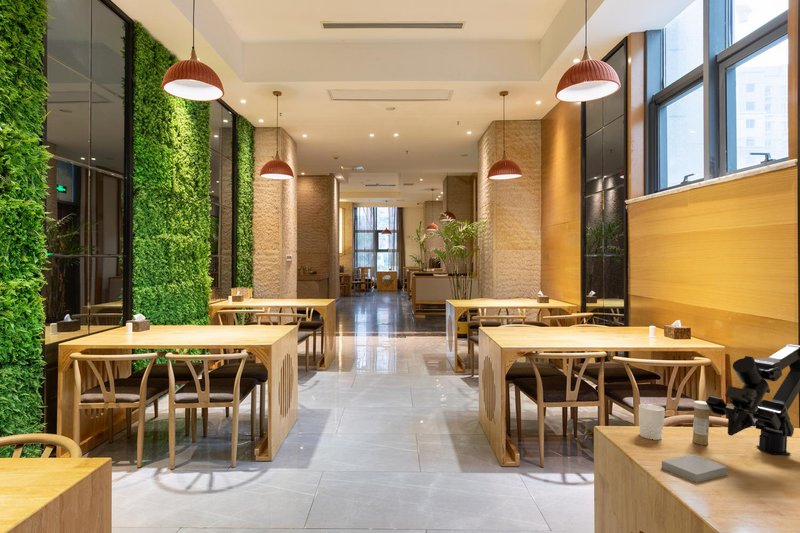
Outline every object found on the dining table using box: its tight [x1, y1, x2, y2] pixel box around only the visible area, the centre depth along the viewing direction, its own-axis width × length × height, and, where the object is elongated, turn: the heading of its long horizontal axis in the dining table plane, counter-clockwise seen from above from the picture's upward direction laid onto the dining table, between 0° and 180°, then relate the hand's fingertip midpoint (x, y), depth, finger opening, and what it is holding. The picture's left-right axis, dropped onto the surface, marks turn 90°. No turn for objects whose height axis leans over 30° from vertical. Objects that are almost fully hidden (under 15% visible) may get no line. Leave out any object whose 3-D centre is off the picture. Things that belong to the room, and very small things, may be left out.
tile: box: [661, 453, 728, 484], centre depth 140 cm, size 3×10×14 cm
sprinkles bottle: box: [691, 400, 710, 446], centre depth 164 cm, size 5×5×14 cm
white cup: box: [638, 403, 666, 441], centre depth 169 cm, size 8×8×10 cm
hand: (729, 434), depth 148 cm, fingers closed
